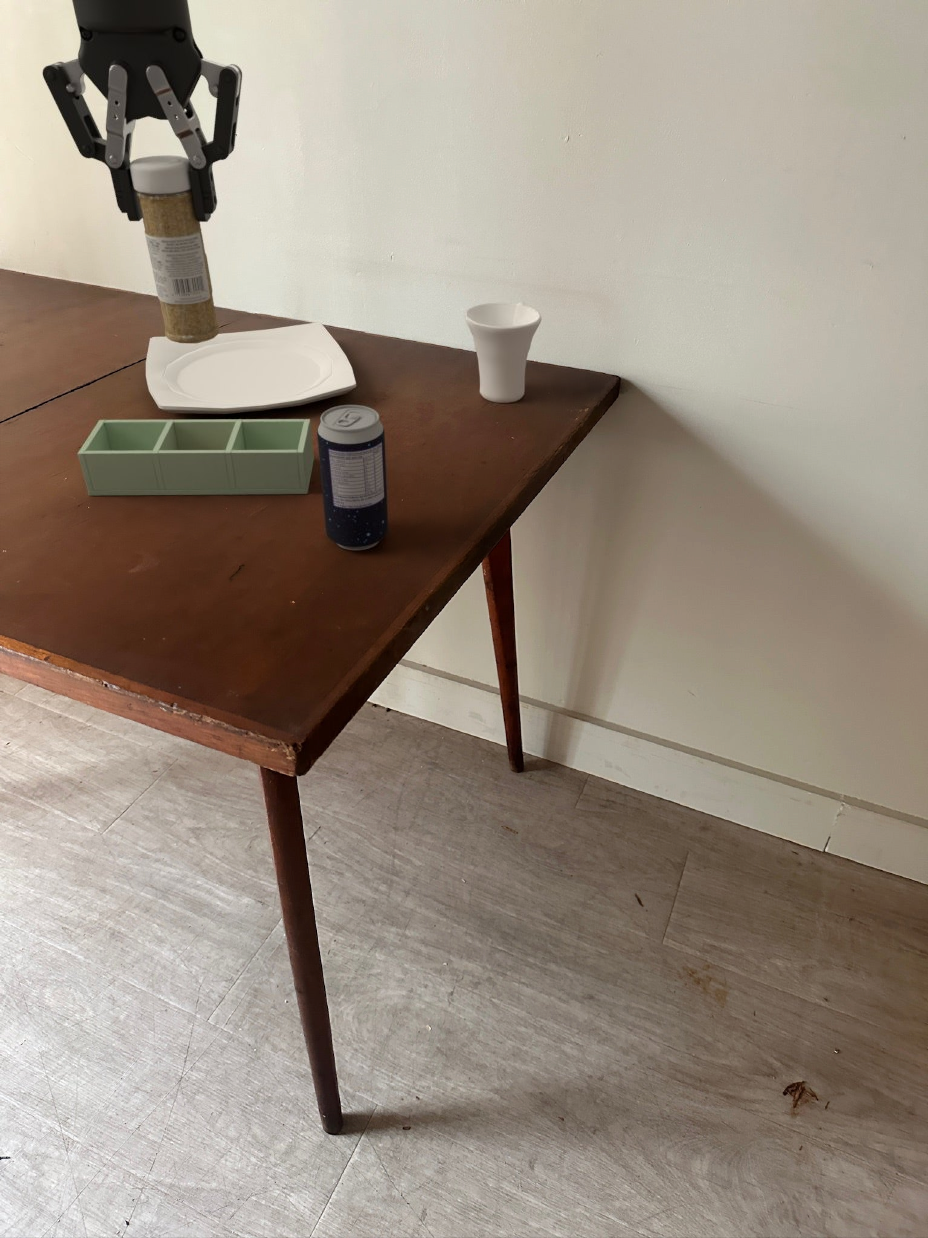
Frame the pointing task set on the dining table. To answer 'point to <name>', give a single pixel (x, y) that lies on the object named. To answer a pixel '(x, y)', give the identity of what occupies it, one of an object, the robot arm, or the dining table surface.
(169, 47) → the robot arm
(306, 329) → the plate
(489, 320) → the cup
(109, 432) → the tray
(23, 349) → the dining table surface
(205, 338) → the spice jar
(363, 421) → the beverage can
